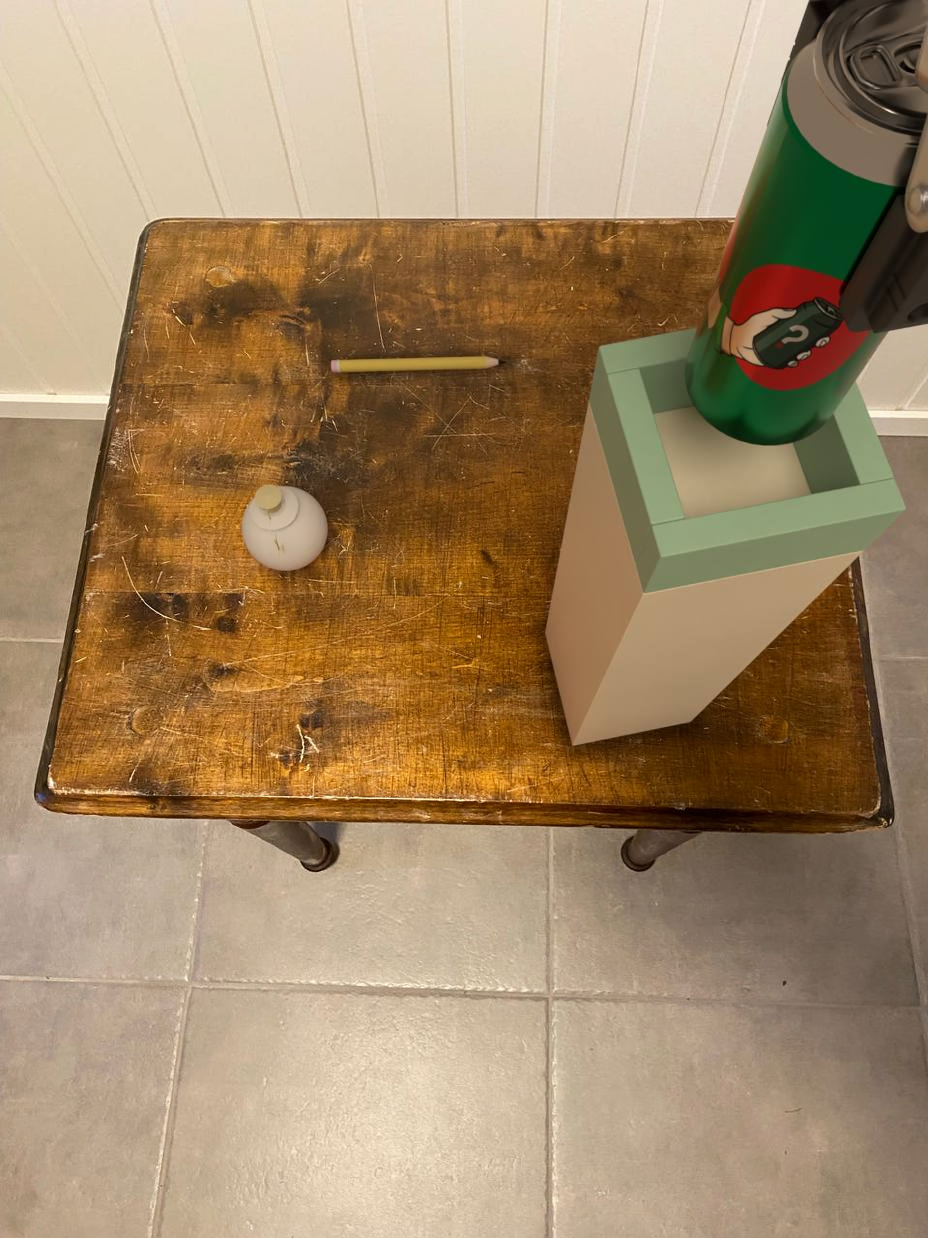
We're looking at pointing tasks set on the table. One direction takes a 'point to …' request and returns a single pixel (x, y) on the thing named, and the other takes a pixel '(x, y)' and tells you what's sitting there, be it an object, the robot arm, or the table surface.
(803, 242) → the soda can
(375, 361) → the pencil
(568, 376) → the table surface
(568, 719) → the holder
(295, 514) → the ornament
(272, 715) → the table surface
